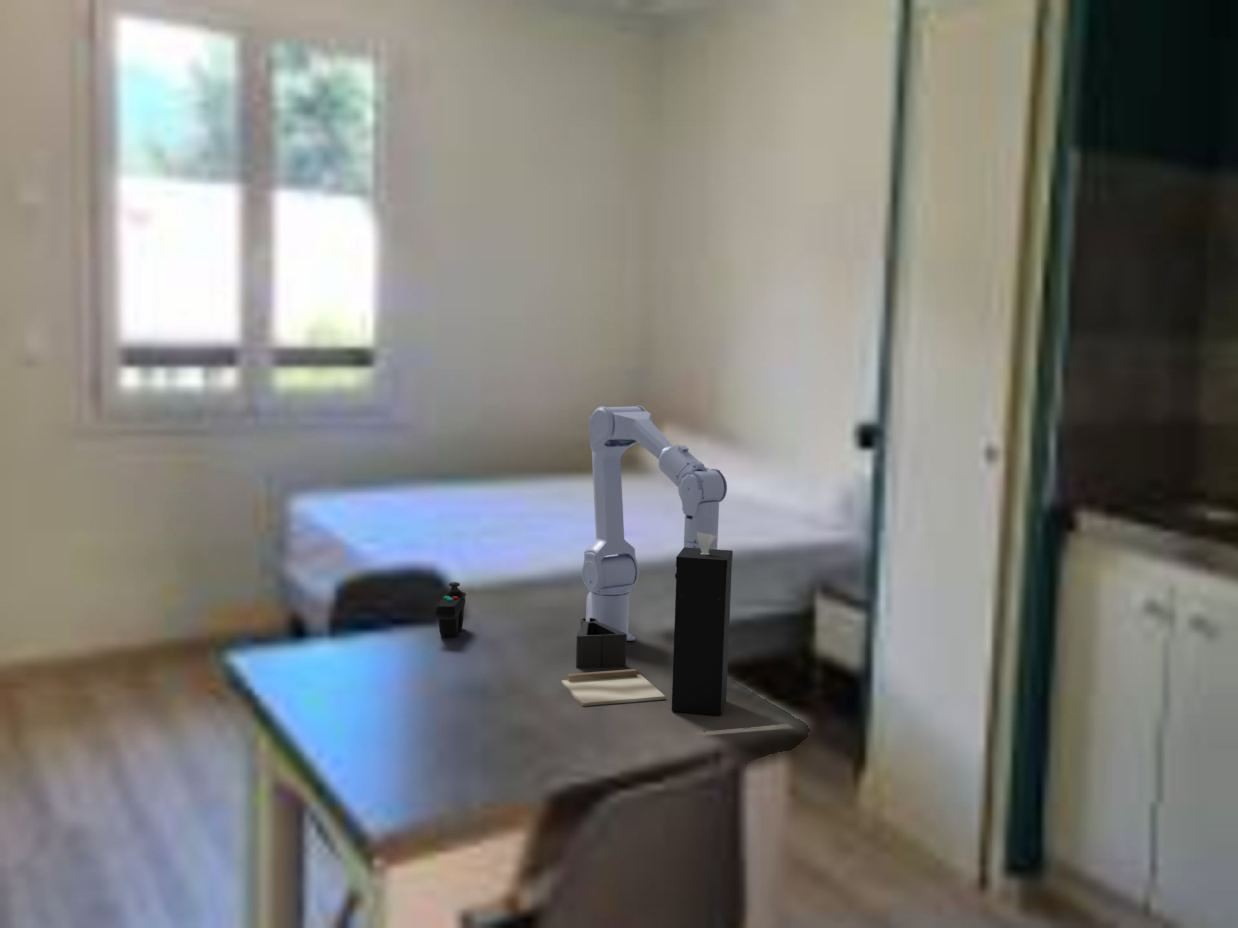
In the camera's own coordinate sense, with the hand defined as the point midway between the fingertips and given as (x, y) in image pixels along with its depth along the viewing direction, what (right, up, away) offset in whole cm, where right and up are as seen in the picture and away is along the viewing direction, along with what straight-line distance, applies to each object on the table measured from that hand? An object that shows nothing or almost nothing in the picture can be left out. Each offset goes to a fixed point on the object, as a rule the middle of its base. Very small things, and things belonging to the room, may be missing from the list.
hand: (697, 618), depth 202 cm
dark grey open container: (-16, -6, +2) cm, 18 cm away
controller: (-45, -7, +19) cm, 49 cm away
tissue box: (-1, -12, -16) cm, 20 cm away
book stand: (-15, -11, -9) cm, 20 cm away
